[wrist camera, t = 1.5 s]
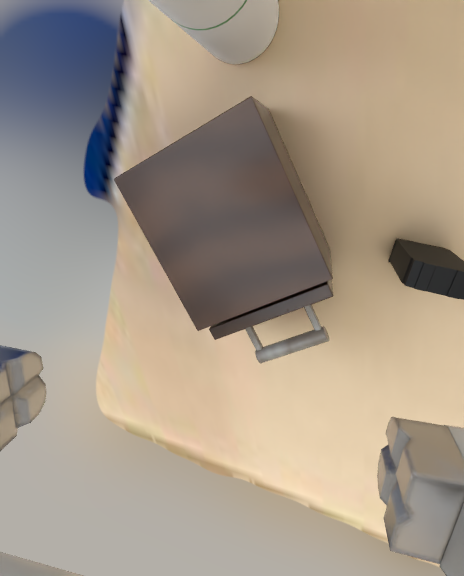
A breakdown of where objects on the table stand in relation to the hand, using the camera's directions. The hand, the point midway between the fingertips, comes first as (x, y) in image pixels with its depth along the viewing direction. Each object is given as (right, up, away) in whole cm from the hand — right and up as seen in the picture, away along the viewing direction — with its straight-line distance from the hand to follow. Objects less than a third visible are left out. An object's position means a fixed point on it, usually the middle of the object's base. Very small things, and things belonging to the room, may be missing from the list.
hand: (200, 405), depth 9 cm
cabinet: (+2, +11, +30) cm, 31 cm away
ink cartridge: (+19, +6, +28) cm, 34 cm away
